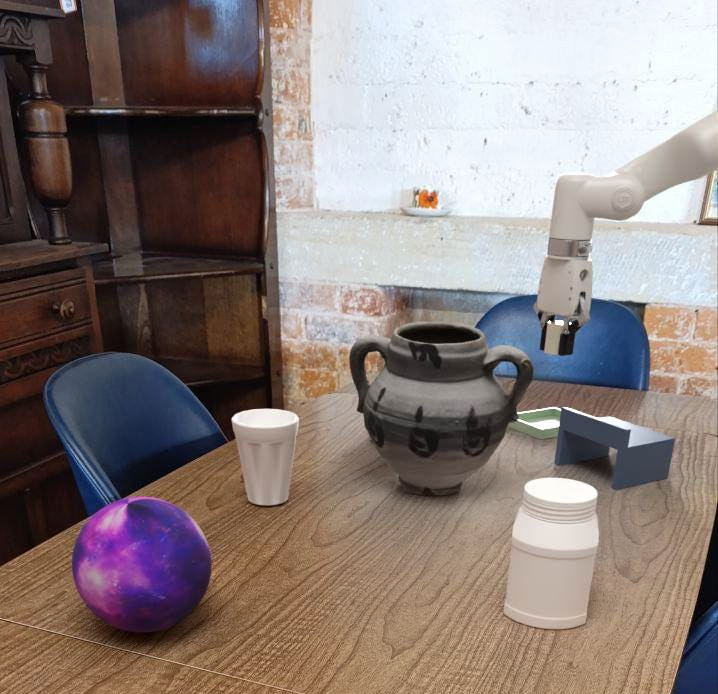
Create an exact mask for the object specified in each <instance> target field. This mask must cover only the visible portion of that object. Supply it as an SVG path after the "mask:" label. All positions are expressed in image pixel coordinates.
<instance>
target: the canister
mask: <svg viewBox="0 0 718 694" xmlns="http://www.w3.org/2000/svg"><path fill="white" fill-rule="evenodd" d="M571 323H572V322H570V324H571ZM562 333H564V332H563V320H556V321H548V322H547V331H546V339H545V347H544V350H543V353H545V354H547V355H551V356H552V355H553V356H559V355H558V350H559V342H560V335H561V334H562Z"/></svg>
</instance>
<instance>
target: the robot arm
mask: <svg viewBox="0 0 718 694" xmlns="http://www.w3.org/2000/svg"><path fill="white" fill-rule="evenodd" d="M716 171H718V109H716V110H715V111H713V112H711V113H710V114H707V115H705V116H704V117H703V118H701V119H699V120H697V121H696V122H694V123H692V124H690V125H689V126H687V127H686V128H684V129H682V130H680V131H679V132H677V133H675V134H674V135H672V136H671V137H669V138H668V139H666V140H665V141H663V142H662V143H659V144H658V145H656V146H655V147H652V148H651V149H649V150H647V151H646V152H644V153H642V154H640V155H638V156H637V157H635V158H634V159H631V160H630V161H628V162H627V163H624V165H621V166H620V167H618V168H616V169H615V170H613V171H612V172H610V173H609V174H606V175H599V176H598V175H596V174H592V173H585V172H583V173H582V172H564V173H561V174H559V175H558V176H557V178H556V180H555V182H554V191H553V200H552V208H551V210H552V211H551V216H550V217H551V218H550V226H549V235H548V236H549V237H548V243H547V253H546V255H545V258H544V261H543V265H542V267H541V272H540V278H539V283H538V291H537V296H536V297H537V298H536V301H535V302H534V304H533V306H532V309H533V310H534V312H535V314H536V315H537V318H538V321H539V328H540V329H541V334H540V340H539V341H540V342H539V350H540V351H543V352H544V347H545V339H546V331H547V322H548V321H557V318H558V316H559V317H562V321H563V332H564V333H562V334H561V335H560V342H559V350H558V355H557V356H560V357H565V356H572V355H573V353H574V348H575V339H576V334H578V333H579V331H580V329H581V328H582V327H583V326H584V325H585V324H587V323H588V322H589V321H590V320H591V315H590V311H591V306H592V305H591V303H592V294H593V279H594V278H593V275H594V274H593V272H594V271H593V260H592V258H590V254H591V253H592V252H593V246H592V239H593V233H594V232H593V231H594V224H595V219H601V220H606V221H607V220H608V221H612V222H625V221H628V220H630V219H632V218H634V217H635V216H636V215H638V213H639V212H640V211H641V210H642V208H643V206H644V203H646V202H647V201H649V200H650V199H652V198H654V197H656V196H658V195H659V194H661V193H663V192H666V191H667V190H669V189H672V188H674V187H676V186H679V185H682V184H685V183H689V182H693V181H696V180H699V179H702V178H704V177H707V176H708V175H711V174H713V173H714V172H716ZM570 323H571V324H570Z"/></svg>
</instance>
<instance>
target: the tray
mask: <svg viewBox="0 0 718 694" xmlns="http://www.w3.org/2000/svg"><path fill="white" fill-rule="evenodd" d="M517 413H518V415H519V419H518V420H517V421H516V422H514V423H509V424H508V427H507V428H510V429H513V430H516V431H518V432H520V433H523V434H526V435H528V436H531V437H532V438H536V439H538V440H547V439H552V438H558V430H559V422H560V414H561V408H558V407H557V406H551V407H546V408H540V409H534V410H527V411H521V412H517Z"/></svg>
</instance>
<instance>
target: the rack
mask: <svg viewBox="0 0 718 694" xmlns="http://www.w3.org/2000/svg"><path fill="white" fill-rule="evenodd" d="M560 409H561V414H560V422H559V430H558V437H556V447H555V454H554V463H553V464H554V465H557V466H563V465H568V464H573V463H578V462H583V461H589V460H594V459H597V458H603V457H607V456H609V455H610V454H609V453H610V449H614V450H617V452H616V457H615V462H614V463H615V464H614V468H613V469H614V470H613V476H612V481H611V482H612V483H611V489H613V490H616V491H618V490H622V489H625V488H626V489H627V488H631V487H636V486H641V485H644V484H649V483H652V482H653V483H654V482H657V481H661V480H666V479H668V478H669V475H670V470H671V469H670V467H671V463H672V458H673V454H674V453H673V452H674V448H675V442H676V437H673V436H670V435H668V434H664V433H662V432H659V431H656V430H652V429H650V428H647V427H644V426H640V425H638V424H635V423H632V422H628V421H626V420H622V419H620V418H617V417H613V416H611V415H608V416H601V417H596V416H594V415H592V414H591V415H590V414H588V413H584V412H582V411H579V410H576V409H573V408H570V407H567V406H563V407H560Z"/></svg>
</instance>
